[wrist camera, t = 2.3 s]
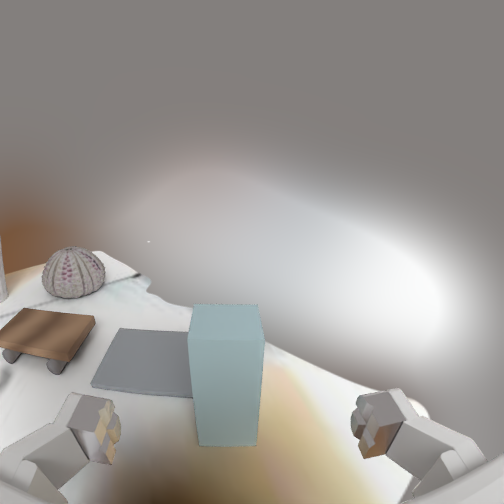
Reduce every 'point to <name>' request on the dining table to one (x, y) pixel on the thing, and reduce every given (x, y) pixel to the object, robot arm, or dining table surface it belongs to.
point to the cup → (2, 280)
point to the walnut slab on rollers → (45, 336)
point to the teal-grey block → (226, 373)
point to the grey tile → (146, 363)
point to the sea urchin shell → (73, 273)
